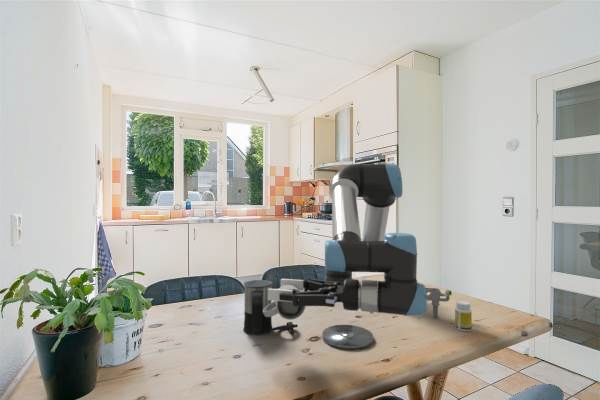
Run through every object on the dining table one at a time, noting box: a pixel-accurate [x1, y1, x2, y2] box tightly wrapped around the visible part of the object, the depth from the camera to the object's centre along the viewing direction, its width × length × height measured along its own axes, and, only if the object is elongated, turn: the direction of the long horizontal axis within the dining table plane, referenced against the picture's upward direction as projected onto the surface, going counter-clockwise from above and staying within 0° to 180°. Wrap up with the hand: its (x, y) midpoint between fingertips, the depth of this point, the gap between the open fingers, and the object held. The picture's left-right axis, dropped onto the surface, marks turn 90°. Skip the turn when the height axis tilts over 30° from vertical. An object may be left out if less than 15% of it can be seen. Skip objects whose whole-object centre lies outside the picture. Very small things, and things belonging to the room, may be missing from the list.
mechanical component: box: [425, 287, 453, 319], centre depth 113 cm, size 3×10×10 cm, turn 78°
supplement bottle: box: [454, 300, 473, 332], centre depth 103 cm, size 5×5×8 cm
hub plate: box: [321, 324, 374, 351], centre depth 95 cm, size 15×15×1 cm
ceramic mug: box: [263, 285, 307, 321], centre depth 84 cm, size 11×8×8 cm
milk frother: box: [243, 279, 298, 336], centre depth 101 cm, size 14×16×15 cm
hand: (275, 288), depth 85 cm, fingers closed on ceramic mug, 10 cm apart
